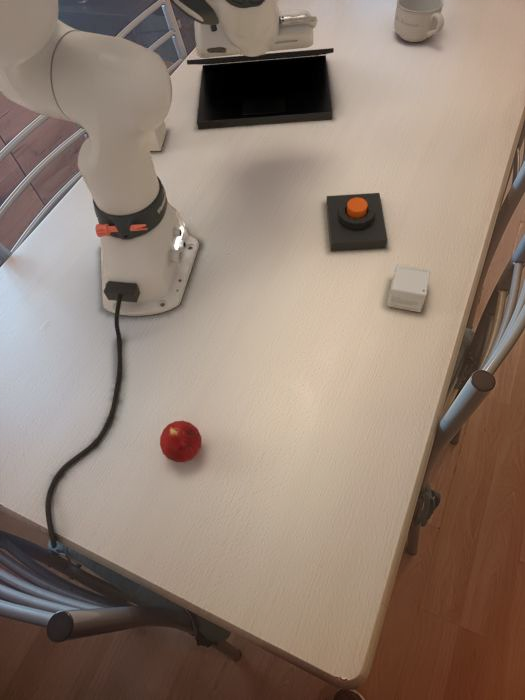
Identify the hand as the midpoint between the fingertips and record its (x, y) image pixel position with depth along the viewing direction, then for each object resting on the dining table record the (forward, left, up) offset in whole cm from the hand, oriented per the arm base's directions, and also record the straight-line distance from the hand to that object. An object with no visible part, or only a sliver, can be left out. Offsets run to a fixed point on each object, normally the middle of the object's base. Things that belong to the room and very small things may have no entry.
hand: (256, 50), depth 91 cm
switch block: (-26, -17, -20) cm, 37 cm away
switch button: (-26, -17, -16) cm, 35 cm away
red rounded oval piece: (-69, +12, -20) cm, 73 cm away
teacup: (+35, -38, -20) cm, 55 cm away
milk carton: (+3, +26, -20) cm, 33 cm away
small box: (-43, -24, -20) cm, 53 cm away
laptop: (+17, 0, -20) cm, 26 cm away
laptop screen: (+19, 0, -12) cm, 22 cm away
